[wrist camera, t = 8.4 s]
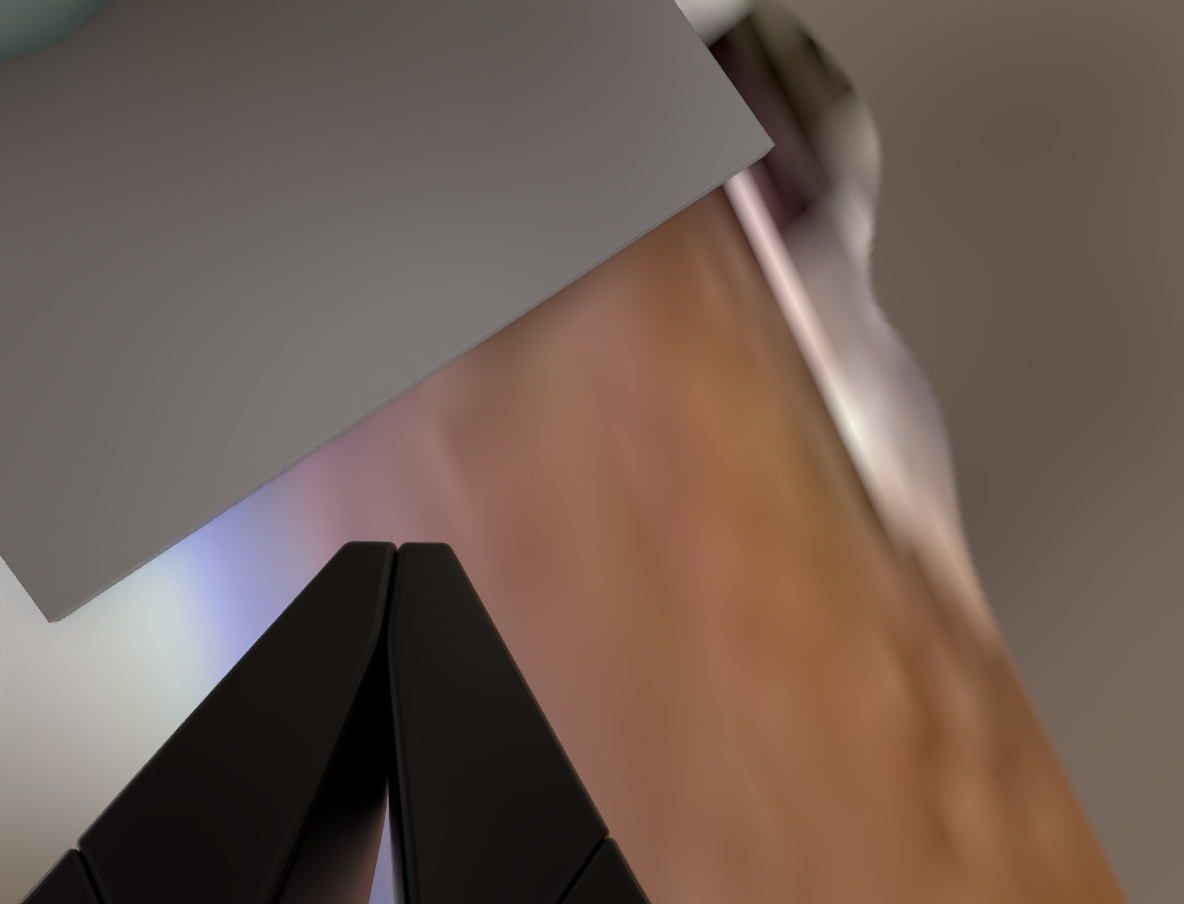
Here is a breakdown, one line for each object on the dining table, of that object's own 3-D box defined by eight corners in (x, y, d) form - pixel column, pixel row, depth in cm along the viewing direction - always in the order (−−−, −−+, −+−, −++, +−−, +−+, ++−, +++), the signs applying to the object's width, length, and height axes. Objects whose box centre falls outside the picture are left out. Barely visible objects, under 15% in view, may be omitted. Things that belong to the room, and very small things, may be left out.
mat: (59, 620, 20) (48, 622, 19) (-510, -163, 19) (-538, -187, 19) (765, 154, 24) (774, 145, 24) (316, -487, 24) (315, -513, 23)
